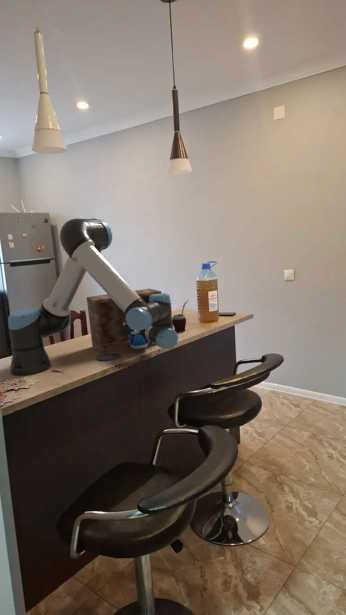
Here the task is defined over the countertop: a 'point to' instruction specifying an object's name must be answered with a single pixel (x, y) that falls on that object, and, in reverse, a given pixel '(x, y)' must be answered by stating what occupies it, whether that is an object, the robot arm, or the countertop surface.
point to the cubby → (109, 319)
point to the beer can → (138, 341)
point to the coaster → (108, 356)
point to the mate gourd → (179, 321)
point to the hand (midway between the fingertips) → (133, 323)
